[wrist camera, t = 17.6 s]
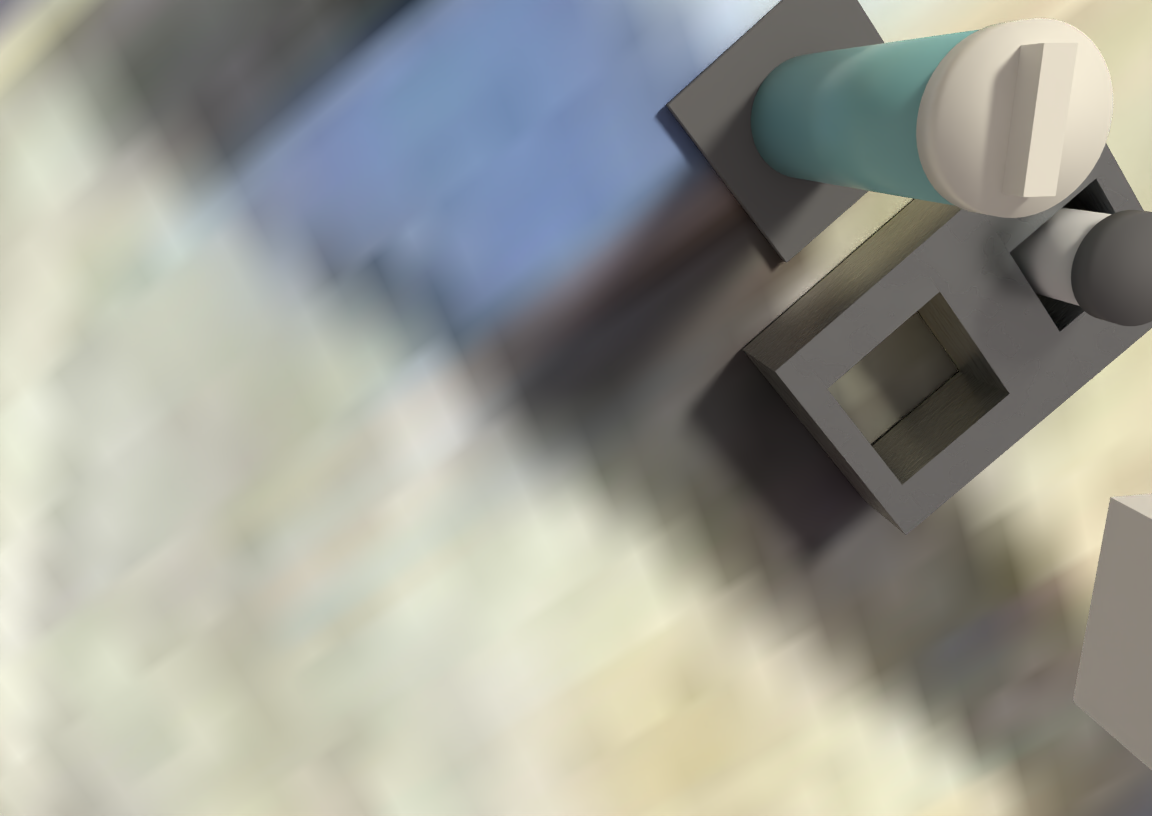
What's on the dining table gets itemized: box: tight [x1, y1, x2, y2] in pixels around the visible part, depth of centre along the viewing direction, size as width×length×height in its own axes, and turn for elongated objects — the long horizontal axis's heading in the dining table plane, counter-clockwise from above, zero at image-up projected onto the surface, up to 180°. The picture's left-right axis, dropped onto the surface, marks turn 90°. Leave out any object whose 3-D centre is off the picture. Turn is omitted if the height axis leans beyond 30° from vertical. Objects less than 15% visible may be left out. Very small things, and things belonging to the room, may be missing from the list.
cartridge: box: [751, 18, 1113, 218], centre depth 33 cm, size 5×5×16 cm
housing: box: [743, 144, 1152, 535], centre depth 43 cm, size 17×11×4 cm, turn 131°
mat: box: [666, 0, 884, 262], centre depth 40 cm, size 9×9×1 cm
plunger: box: [1010, 208, 1152, 326], centre depth 40 cm, size 5×5×7 cm
